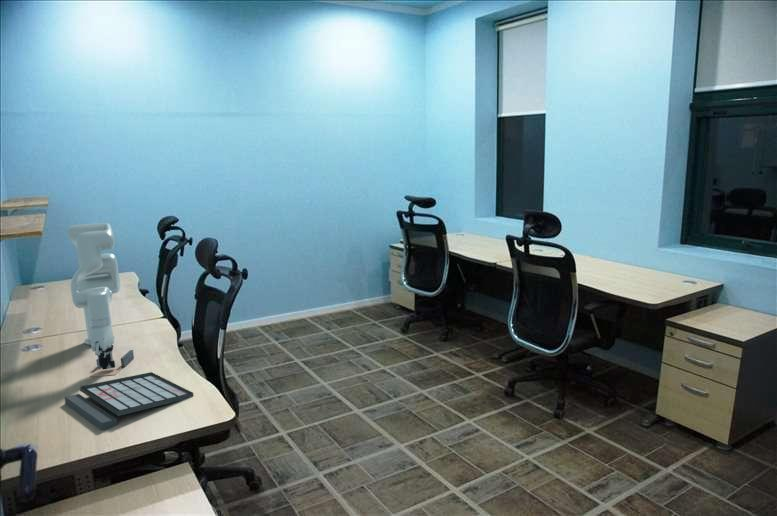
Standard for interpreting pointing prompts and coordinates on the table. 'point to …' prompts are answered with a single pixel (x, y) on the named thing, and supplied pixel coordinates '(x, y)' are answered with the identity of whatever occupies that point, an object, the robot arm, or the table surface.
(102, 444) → the table surface
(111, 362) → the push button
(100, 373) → the mat
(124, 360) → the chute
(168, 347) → the table surface
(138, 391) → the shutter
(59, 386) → the table surface
